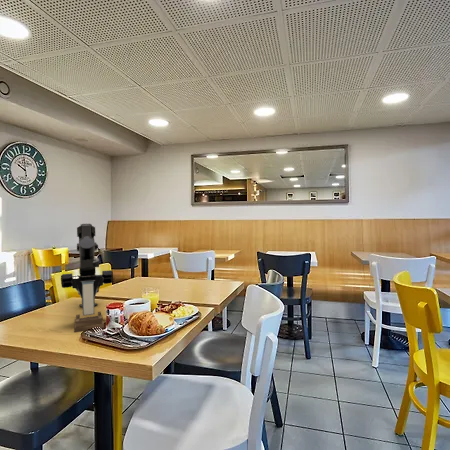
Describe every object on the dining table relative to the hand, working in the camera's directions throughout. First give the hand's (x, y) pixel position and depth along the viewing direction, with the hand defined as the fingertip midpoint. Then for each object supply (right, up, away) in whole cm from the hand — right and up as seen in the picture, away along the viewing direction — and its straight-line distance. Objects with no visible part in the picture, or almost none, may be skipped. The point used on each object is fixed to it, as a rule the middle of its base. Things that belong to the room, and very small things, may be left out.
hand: (88, 296), depth 118 cm
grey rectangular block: (0, -7, +1) cm, 7 cm away
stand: (0, -11, +1) cm, 11 cm away
